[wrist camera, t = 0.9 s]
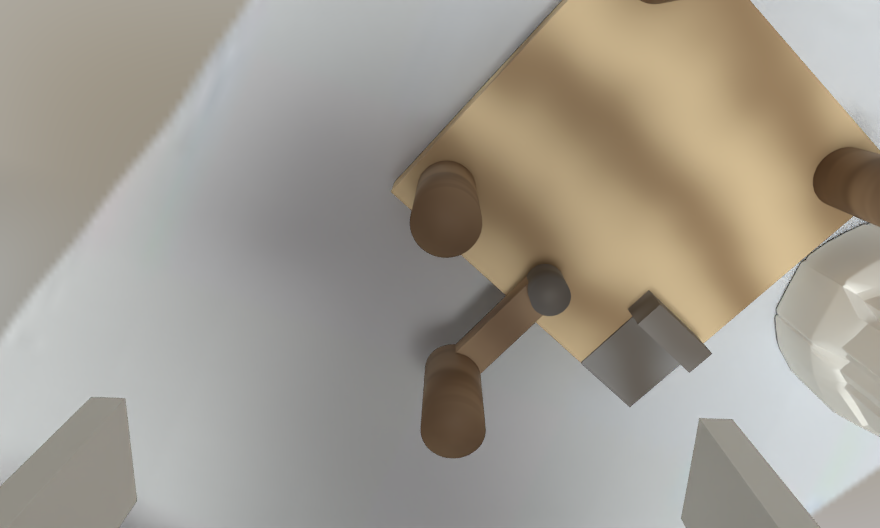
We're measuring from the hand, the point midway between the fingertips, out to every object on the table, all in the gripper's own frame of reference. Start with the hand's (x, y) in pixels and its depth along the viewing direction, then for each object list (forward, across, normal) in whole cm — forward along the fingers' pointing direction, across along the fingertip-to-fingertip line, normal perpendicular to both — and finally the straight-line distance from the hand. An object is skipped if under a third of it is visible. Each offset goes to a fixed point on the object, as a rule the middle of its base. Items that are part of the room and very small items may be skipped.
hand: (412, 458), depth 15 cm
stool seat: (+22, +11, +3) cm, 25 cm away
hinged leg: (+19, +4, -5) cm, 20 cm away
